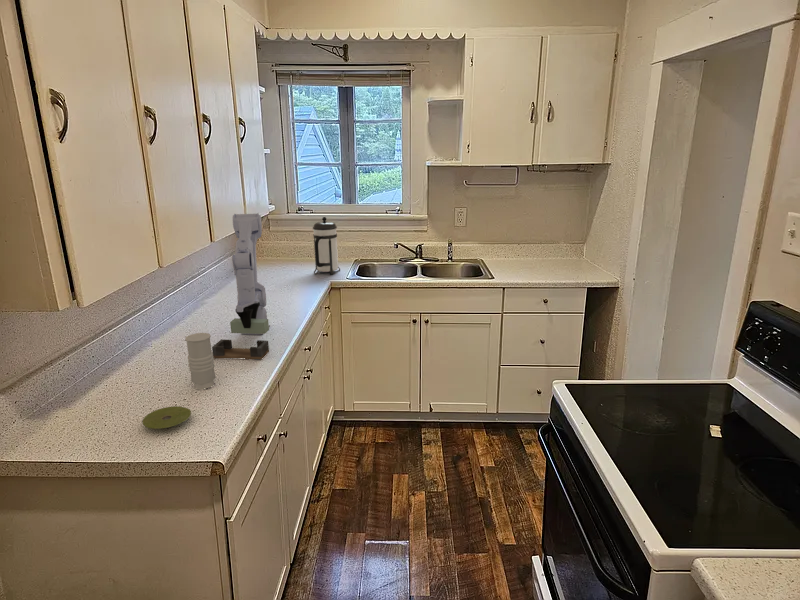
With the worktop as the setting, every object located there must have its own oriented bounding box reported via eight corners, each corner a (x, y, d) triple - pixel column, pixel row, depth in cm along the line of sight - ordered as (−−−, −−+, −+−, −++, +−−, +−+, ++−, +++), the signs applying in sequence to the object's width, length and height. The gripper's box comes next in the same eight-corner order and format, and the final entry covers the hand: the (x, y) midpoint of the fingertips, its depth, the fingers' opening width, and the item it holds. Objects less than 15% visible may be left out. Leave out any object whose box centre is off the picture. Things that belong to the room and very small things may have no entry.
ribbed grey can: (210, 378, 159) (204, 330, 155) (220, 385, 154) (214, 337, 150) (188, 384, 155) (181, 336, 150) (197, 392, 150) (190, 343, 145)
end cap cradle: (222, 350, 180) (221, 339, 179) (269, 351, 178) (268, 340, 177) (213, 358, 174) (211, 347, 172) (261, 359, 172) (260, 348, 171)
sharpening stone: (236, 329, 186) (234, 318, 185) (269, 329, 184) (268, 318, 183) (231, 333, 182) (230, 322, 181) (265, 333, 181) (264, 322, 180)
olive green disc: (178, 408, 141) (177, 401, 140) (200, 422, 134) (199, 415, 133) (135, 425, 133) (134, 418, 132) (156, 440, 126) (155, 433, 125)
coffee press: (308, 271, 291) (304, 216, 282) (336, 268, 297) (333, 214, 289) (317, 278, 276) (313, 220, 267) (346, 274, 282) (343, 218, 274)
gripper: (249, 293, 171) (253, 333, 175) (264, 282, 185) (268, 319, 189) (228, 293, 172) (232, 332, 176) (245, 282, 186) (249, 318, 190)
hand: (249, 325), depth 183 cm, fingers closed on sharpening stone, 4 cm apart
